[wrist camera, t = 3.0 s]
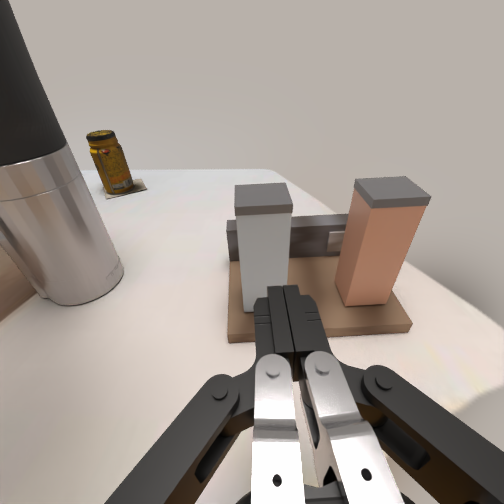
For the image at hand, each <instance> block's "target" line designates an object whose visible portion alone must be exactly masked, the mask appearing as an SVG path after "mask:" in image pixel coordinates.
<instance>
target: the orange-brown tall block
mask: <svg viewBox="0 0 504 504" xmlns="http://www.w3.org/2000/svg"><path fill="white" fill-rule="evenodd" d="M430 199H431V196H430V195H429V194H427V193H426V192H425V191H424V190H422V189H421V188H420V187H419V186H417V185H416V184H414V183H413V182H412V181H411V180H410V179H408V178H407V177H406V176H402V177H384V178H365V179H355V184H354V192H353V197H352V202H351V206H350V210H349V215H348V220H347V224H346V229H345V234H344V238H343V243H342V247H341V252H340V257H339V261H338V266H337V271H336V275H335V280H334V281H335V283H336V286H337V288H338V291H339V293H340V295H341V298H342V300H343V303H344V305H345V306H357V305H374V304H386V302H387V300H388V298H389V295H390V293H391V290H392V288H393V286H394V283H395V281H396V278H397V276H398V274H399V271H400V269H401V266H402V264H403V261H404V259H405V257H406V254H407V252H408V249H409V247H410V245H411V242H412V240H413V237H414V235H415V232H416V230H417V228H418V225H419V223H420V220H421V218H422V216H423V213H424V211H425V208H426V206H428V204H429V201H430Z"/></svg>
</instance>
